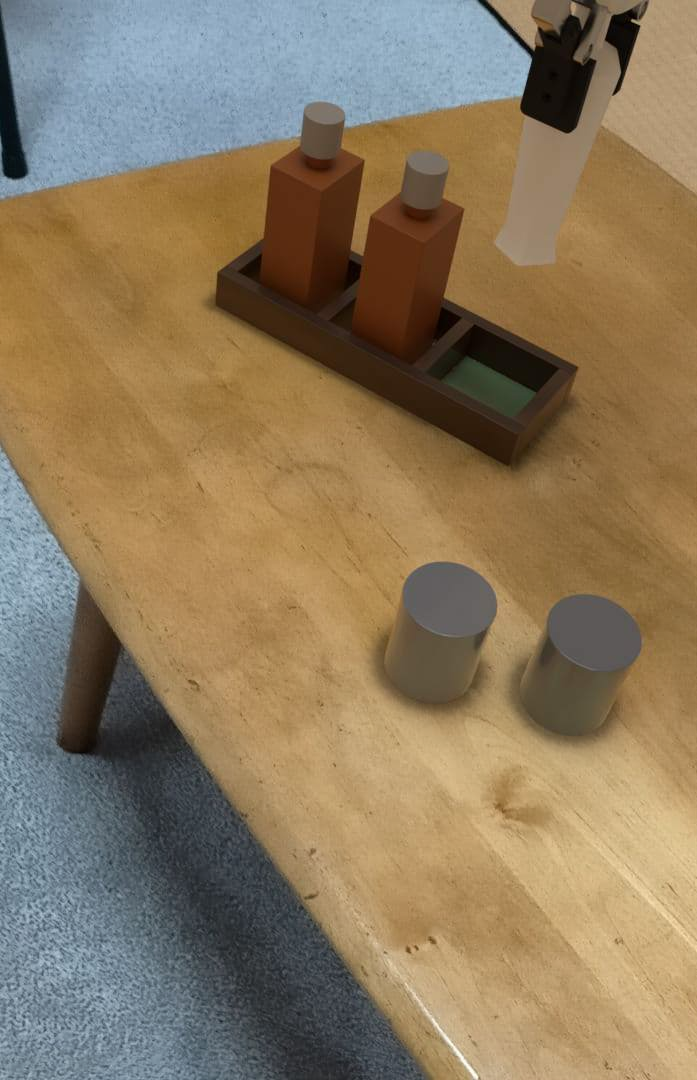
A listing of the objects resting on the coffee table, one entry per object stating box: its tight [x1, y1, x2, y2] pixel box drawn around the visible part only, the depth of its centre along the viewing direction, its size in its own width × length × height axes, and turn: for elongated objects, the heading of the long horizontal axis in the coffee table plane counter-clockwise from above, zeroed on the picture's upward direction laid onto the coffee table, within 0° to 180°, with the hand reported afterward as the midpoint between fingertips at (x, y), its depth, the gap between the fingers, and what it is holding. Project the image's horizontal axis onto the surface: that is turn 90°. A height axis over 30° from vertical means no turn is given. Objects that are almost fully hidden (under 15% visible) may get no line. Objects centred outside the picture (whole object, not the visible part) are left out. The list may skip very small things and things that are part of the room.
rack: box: [214, 237, 580, 467], centre depth 85 cm, size 9×24×4 cm, turn 56°
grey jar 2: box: [519, 593, 643, 737], centre depth 66 cm, size 5×5×7 cm
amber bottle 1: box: [259, 101, 366, 314], centre depth 82 cm, size 4×5×15 cm
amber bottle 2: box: [349, 149, 465, 365], centre depth 80 cm, size 4×5×15 cm
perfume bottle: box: [493, 2, 621, 267], centre depth 68 cm, size 5×4×15 cm
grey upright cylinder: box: [383, 561, 498, 705], centre depth 66 cm, size 5×5×7 cm
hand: (570, 99), depth 67 cm, fingers closed on perfume bottle, 4 cm apart
